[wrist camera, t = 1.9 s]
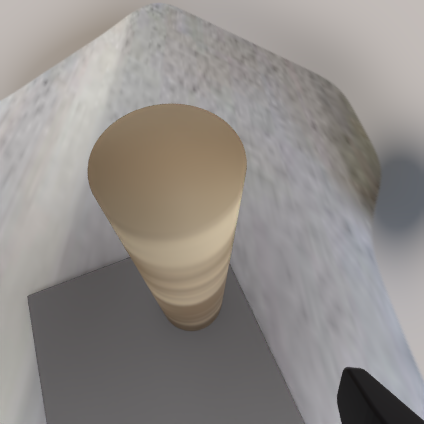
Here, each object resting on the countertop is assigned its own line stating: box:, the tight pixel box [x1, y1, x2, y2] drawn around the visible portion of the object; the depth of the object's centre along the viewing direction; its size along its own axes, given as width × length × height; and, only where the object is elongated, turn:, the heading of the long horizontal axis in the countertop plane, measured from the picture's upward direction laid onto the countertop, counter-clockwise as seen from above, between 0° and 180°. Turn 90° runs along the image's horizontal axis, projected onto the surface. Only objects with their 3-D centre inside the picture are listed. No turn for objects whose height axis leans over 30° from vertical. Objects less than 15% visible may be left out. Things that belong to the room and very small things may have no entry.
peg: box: [88, 104, 247, 331], centre depth 13 cm, size 4×4×14 cm
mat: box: [27, 257, 305, 424], centre depth 17 cm, size 14×12×1 cm
